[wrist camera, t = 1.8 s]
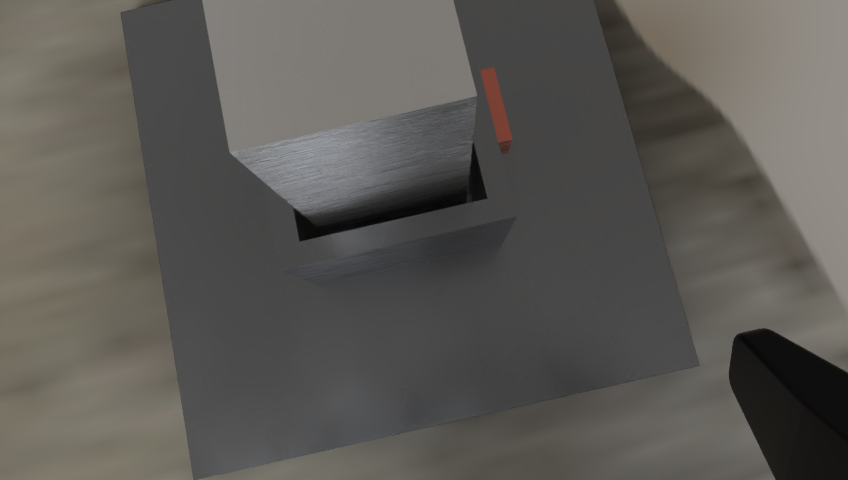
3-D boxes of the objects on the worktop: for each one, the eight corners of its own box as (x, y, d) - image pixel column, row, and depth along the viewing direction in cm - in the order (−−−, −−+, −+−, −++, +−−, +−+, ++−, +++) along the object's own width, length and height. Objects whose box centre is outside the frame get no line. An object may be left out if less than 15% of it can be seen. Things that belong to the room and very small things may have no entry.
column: (466, 222, 21) (481, 97, 10) (342, 251, 21) (227, 156, 10) (438, 104, 21) (424, -129, 11) (317, 132, 21) (185, -73, 11)
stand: (685, 364, 21) (777, 373, 15) (208, 472, 21) (112, 523, 15) (561, -70, 23) (597, -209, 18) (137, 28, 24) (31, -77, 18)
